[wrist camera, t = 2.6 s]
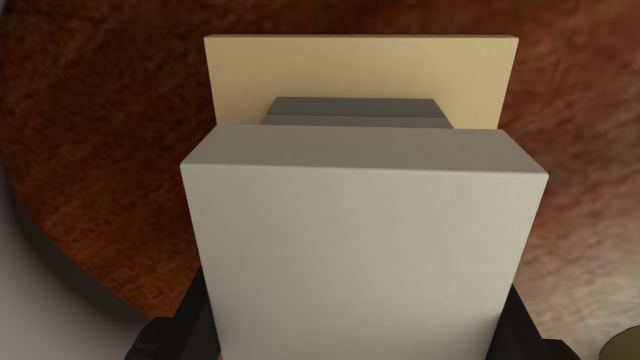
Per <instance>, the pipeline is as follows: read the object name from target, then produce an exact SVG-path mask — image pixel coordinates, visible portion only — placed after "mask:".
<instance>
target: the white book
mask: <svg viewBox="0 0 640 360" xmlns="http://www.w3.org/2000/svg"><path fill="white" fill-rule="evenodd" d="M180 170H181V174H182V179H183V183H184V188H185V192H186V197H187V201H188V206H189V210H190V215H191V219H192V223H193V228H194V232H195V237H196V241H197V246H198V250H199V255H200V259H201V264H202V268H203V273H204V277H205V282H206V286H207V291H208V295H209V299H210V304H211V308H212V313H213V317H214V322H215V326H216V331H217V335H218V340H219V344H220V349H221V353H222V358H223V360H485V359H486V356H487V353H488V350H489V347H490V344H491V342H492V339H493V336H494V333H495V330H496V327H497V324H498V321H499V319H500V316H501V313H502V310H503V307H504V304H505V301H506V298H507V295H508V293H509V290H510V287H511V284H512V281H513V278H514V275H515V272H516V270H517V267H518V264H519V261H520V258H521V255H522V252H523V249H524V246H525V244H526V241H527V238H528V235H529V232H530V229H531V226H532V223H533V221H534V218H535V215H536V212H537V209H538V206H539V203H540V200H541V197H542V195H543V192H544V189H545V186H546V183H547V180H548V173H547V172H546V171H545V170H544V169H543V168H542V167H541V166H540V165H539V164H538V163H537V162H536V161H534V160H533V159H532V158H531V157H530V156H529V155H528V154H527V153H526V152H525V151H524V150H523V149H522V148H521V147H520V146H519V145H518V144H517V143H516V142H515V141H514V140H513V139H512V138H511V137H510V136H509V135H507V134H506V133H505V132H504V131H503V130H500V129H448V128H396V127H344V126H292V125H240V124H218V125H216V126H215V127H214V129H213V130H212V131H211V132H210V133H209V134H208V135H207V136H206V137H205V138H204V139H203V140H202V141H201V142H200V143H199V144H198V145H197V146H196V148H195V149H194V150H193V151H192V152H191V153H190V154H189V155H188V156H187V157H186V158H185V159H184V160H183V161H182V162H181V163H180Z"/></svg>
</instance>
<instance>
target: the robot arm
mask: <svg viewBox="0 0 640 360" xmlns="http://www.w3.org/2000/svg"><path fill="white" fill-rule="evenodd" d="M220 351H221V349H220V344H219V340H218V335H217V331H216V326H215V322H214V317H213V313H212V308H211V304H210V299H209V295H208V291H207V286H206V282H205V277H204V273H203V268H202V264H201V266H200V268H199V270H198V272H197V273H196V275H195V277H194V279H193V281H192V283H191V285H190V287H189V289H188V290H187V292H186V294H185V296H184V298H183V300H182V302H181V304H180V305H179V307H178V309H177V311H176V313H175V315H174V317H173V318H167V317H155V318H154V319H153V320H152V321H150V322H149V323H148V324H147V325H146V326H145V327H144V328H143V329H142V330H141V332H140V333H139V335H138V337H137V338H136V340H135V342H134V343H133V345H132V348H130V350H129V352H128V353H127V355H126V356H125V359H124V360H218V357H219V354H220ZM485 360H581V359H580V358H579V356H578V355H577V354H576V353H575V352H574V351H573V350H572V349H571V348H570V347H569V346H568V345H566V344H565V343H564V342H563V341H562V340H556V339H542V337H541V336H540V334H539V332H538V330H537V328H536V326H535V324H534V323H533V321H532V319H531V317H530V315H529V313H528V311H527V310H526V308H525V306H524V304H523V302H522V300H521V298H520V297H519V295H518V293H517V291H516V289H515V287H514V285H513V284H511V287H510V290H509V293H508V295H507V298H506V301H505V304H504V307H503V310H502V313H501V316H500V319H499V321H498V324H497V327H496V330H495V333H494V336H493V339H492V342H491V344H490V347H489V350H488V353H487V356H486V359H485Z"/></svg>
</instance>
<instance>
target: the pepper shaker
mask: <svg viewBox="0 0 640 360" xmlns="http://www.w3.org/2000/svg"><path fill="white" fill-rule="evenodd" d="M600 360H640V326H637V327H634V328H631V329H629V330H627V331H625V332H623V333H621V334H619V335H617V336H615V337H614V338H613V339H612V340H611V341H609V342H608V343H607V344H606V345H605V347H604V348H603V350H602V351H601V353H600Z"/></svg>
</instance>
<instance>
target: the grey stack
mask: <svg viewBox="0 0 640 360" xmlns="http://www.w3.org/2000/svg"><path fill="white" fill-rule="evenodd" d="M518 41H519V38H517V37H514V36H511V35H271V34H212V35H209V36H206V37H204V44H205V50H206V57H207V63H208V69H209V76H210V82H211V89H212V95H213V101H214V108H215V114H216V121H217V125H218V124H240V125H292V126H344V127H396V128H448V129H497V126H498V121H499V117H500V113H501V109H502V105H503V101H504V97H505V93H506V89H507V85H508V81H509V77H510V73H511V69H512V65H513V61H514V57H515V53H516V49H517V45H518Z"/></svg>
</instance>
